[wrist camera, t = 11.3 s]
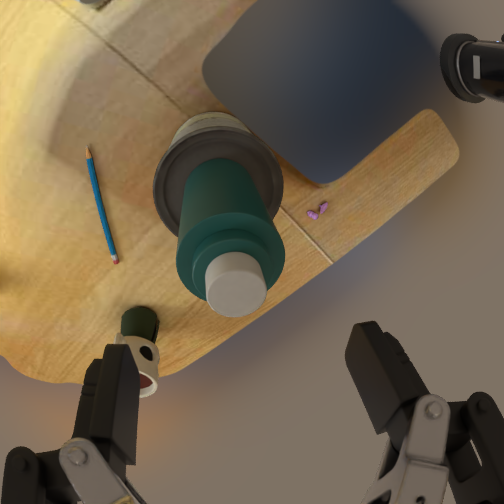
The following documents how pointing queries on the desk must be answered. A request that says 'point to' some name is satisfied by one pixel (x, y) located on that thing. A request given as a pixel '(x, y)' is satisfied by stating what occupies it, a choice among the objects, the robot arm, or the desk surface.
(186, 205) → the bottle
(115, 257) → the pencil
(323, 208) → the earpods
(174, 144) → the coffee can
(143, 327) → the character mug
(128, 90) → the desk surface
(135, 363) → the robot arm
